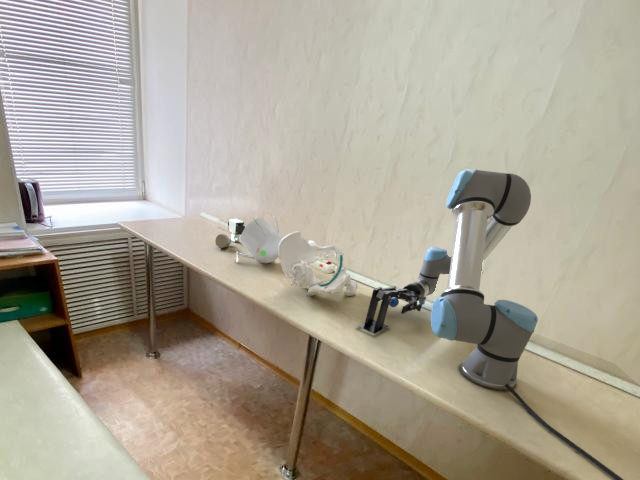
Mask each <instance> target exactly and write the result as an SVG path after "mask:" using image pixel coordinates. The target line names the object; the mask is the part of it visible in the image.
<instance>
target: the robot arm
mask: <svg viewBox="0 0 640 480" xmlns="http://www.w3.org/2000/svg"><path fill="white" fill-rule="evenodd" d="M531 200H532V193H531V189H530V186H529V184H528V183H527V181H526V180H525V179H524V178H523V177H522V176H520V175H518V174H514V173H511V172H510V173H509V172H508V173H506V172H499V171H498V172H497V171H490V170H481V169H478V168H475V169H471V168H464V169H462V170H461V171H459V173H458V174H457V176H456V178H455V179H454V182H453V183H452V185H451V188H450V190H449V193H448V196H447V199H446V203H445V204H446V205H445V206H446V208H447V209H449V210H451V217H452V219H453V220H455V227H454V233H453V234H454V235H453V241H452V250H451V255H452V256H451V257H449V256H448V255H449V254H448V250H447V249H445V248H443V249H441V248H442V247H439V246H431V247H429V248H428V249H427V250H426V252H425V255H424V257H423V262H422V265H421V269H420V271H419V274H418V277H417V280H414V281H413V282H410V283H409V284H406V285H405V286H404V287H403V288H399V289H398V288H397V286H396V285H393V286H391V287H389V286H388V287H382V290H381V291H383V292H385V293H386V292H388V291H393V292H392V295H391V298H392V297H396V298H397V299H398V300H404V301H405V302H406V303H407V304H405V305H403V306H402V308H401V311H400V314H401V315H404V314H406V313H408V312H412V311H415V310H416V311H417V312H421V310H422V307H423V305H425V303H426V300H427V297H428V296H431V295H433V294H434V293H435V292H436V291H435V288H436V284H437V281H438V280H439V278H440V276H441V275H445V274H449V275H448V280H447V287H446V289H445V290H444V291H443V292H441V294H440V296H439V297H437V298H436V299H435V300H434V302H433V304H432V309H431V312H430V326H431V331H432V333H433V334H434V335H435V336H436V338H437V337H438V338H441V339H444V340H448V341H456V342H461V343H468V344H474V345H477V346H476V347H475V348H474V349H473V350H472V352H470V354H468V356H467V357H466V358H465V359H464V360H463V361H462V363H461V366H460V372H461V373H462V375H463V376H464V377H465V378H466V379H467V380H469V381H470V382H473V383H474V384H476V385H479V386H481V387H484V388H487V389H492V390H496V391H509V392H510V393H511V394H512V395H513V396H514V397H515V398H516V399H517V401H518V402H519V403H520V404H521V405H522V406H523V407H524V408H525V409H526V410H527V412H529V414H530V415H532V416H533V417H534V418H535V419H536V420H537V421H538V422H539V423H540V424H541V425H542V426H544V427H545V428H546V429H547V430H548V431H550V432H551V433H552V434H554V435H555V436H557V437H558V438H559V439H560V440H562V441H564V442H565V443H566V444H567V445H569V446H570V447H572V448H573V449H574V450H576V451H577V452H579V453H580V454H581V455H582V456H584V457H585V458H586V459H588V460H589V461H591V462H592V463H593V464H595V465H596V466H597V467H598V468H600V469H602V471H604V472H605V473H606V474H608V475H609V476H611V477H612V478H613V479H614V480H624V478H622V477H621V476H619V475H618V474H617V473H615V472H614V471H613V470H612V469H610V468H609V467H607V466H606V465H605V464H603V463H602V462H601V461H599V460H598V459H597V458H595V457H593V456H592V454H590V453H588V452H587V451H585V450H584V449H582V448H581V447H580V446H578V445H577V444H575V443H574V442H573V441H571V440H570V439H568V438H567V437H566V436H565V435H563V434H562V433H560V432H559V431H557V430H556V429H555V428H554V427H552V426H551V425H549V423H547V422H546V421H545V420H544V419H542V418H541V417H540V415H538V414H537V413H536V412H535V411H534V410H533V409H532V408H531V407H530V406H529V405H528V404H527V403H526V401H524V399H523V398H522V397H521V396H520V395H519V394H518V393H517V391H515V390H514V389H513V387H514V386H515V384H516V382H517V379H518V368H519V367H518V365H519V361H520V359H521V357H522V355H523V353H524V351H525V349H526V347H527V345H528V343H529V341H530V339H531V338H532V335H533V334H534V332H535V329H536V327H537V324H538V321H539V319H538V318H539V317H538V315H537V314H536V312H534V311H533V310H532V309H530V308H529V307H527V306H524V305H522V304H520V303H517V302H515V301H512V300H508V299H497V300H496V301H495V302H494V305H492V304H486V303H485V294H484V293H483V292H482V291H481V290H480V286H481V278H482V275H481V271H482V262H483V260H484V261H485V260H486V259H487V258H488V257H489V256H490V255H491V254H492V252H493V251H494V250H495V248H496V247H497V246H498V245H499V243H500V242H501V241H502V239H503V238H504V237H505V236H506V235H507V234H508V233H509V231H510V230H511V228H512V227H514V226H517V225H519V223H521V222H522V220H523V219H524V218H525V217H526V215H527V214H528V211H529V210H530V206H531V202H532V201H531ZM438 247H439V248H438ZM434 291H435V292H434ZM433 292H434V293H433ZM380 301H382V299H379V301H378V302H380Z"/></svg>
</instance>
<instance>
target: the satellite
mask: <svg viewBox="0 0 640 480" xmlns="http://www.w3.org/2000/svg"><path fill="white" fill-rule="evenodd" d="M267 214H268V215H270V216H272V217H273V218H274V224H275V228H274V227H273V226H272V225H271V224H270V223H269V222H268V221H267V220H266V219H265V218H262V217H258V218H255V217H253V218H252V219H253V220H252V221H250V222H249V223H248V224H247V225H246V226H245V229H244V230H243V232H242V234H241V235H240V237H239V242H240V244H241V246H243V247H244V249H245V250H247V252H248V253H249V254H246V253H243V252H239V251H238V250H236V252H235V254H236V258H235V263H239V261H240V256H243V257H246V258H250V259H254V260H256V261H257V262H259V263H261V264H270V263H273V262H275V261H276V260H277V259H279V253H278V249H279V243H280V241H281V240H282V239H283V238H284V237H282V235H281V234H280V230H279V226H278V225H279V224H278V222H279V223H280V224H282V225H286V220H285V219H283V218H281V217H280V218H279V217H277V216H275V215H273V214H272V213H270V212H267ZM275 229H276V230H275Z"/></svg>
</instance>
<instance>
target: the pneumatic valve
mask: <svg viewBox="0 0 640 480" xmlns="http://www.w3.org/2000/svg"><path fill="white" fill-rule="evenodd" d="M227 227H228V229H227V230H228V232H230V233H232V234H231V236H230V237H231V238H230V239H231V242H234V243H235V242H236V243H237V242H238V243H239V242H240V237H241V234H242V232H243V230H244V229H245V228H246V226H245V222H244V221H243V220H242V219H241V220H240V219H238V218H228V222H227Z"/></svg>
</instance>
